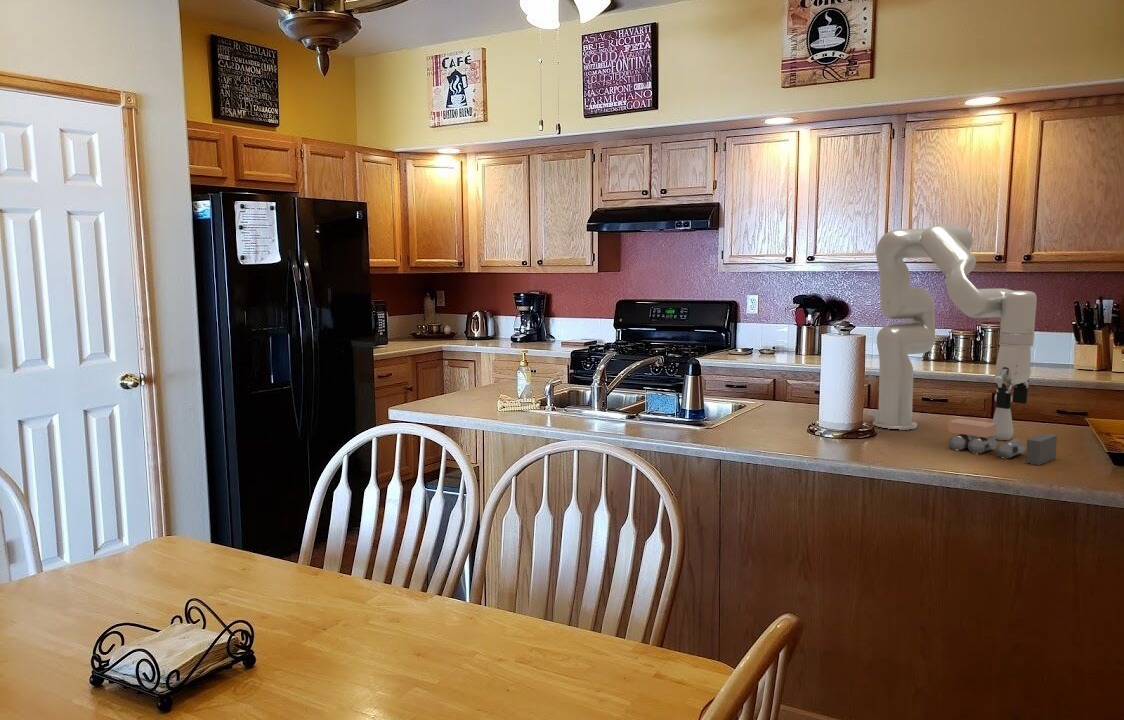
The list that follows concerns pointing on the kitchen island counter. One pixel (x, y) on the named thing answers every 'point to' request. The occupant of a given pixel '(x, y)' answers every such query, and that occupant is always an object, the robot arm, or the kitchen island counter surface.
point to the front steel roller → (982, 444)
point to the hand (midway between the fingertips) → (1011, 405)
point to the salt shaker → (1003, 423)
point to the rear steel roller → (960, 441)
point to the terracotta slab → (972, 427)
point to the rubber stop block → (1041, 449)
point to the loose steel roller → (1010, 448)
